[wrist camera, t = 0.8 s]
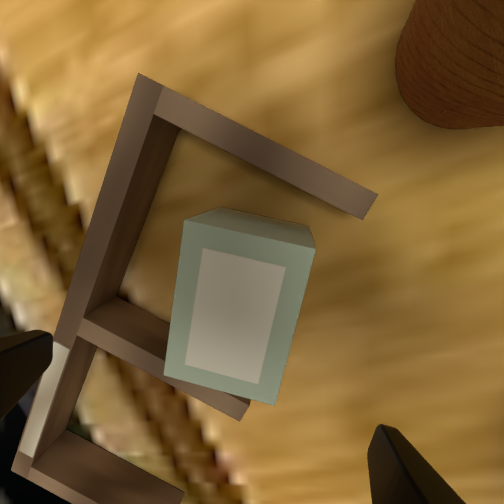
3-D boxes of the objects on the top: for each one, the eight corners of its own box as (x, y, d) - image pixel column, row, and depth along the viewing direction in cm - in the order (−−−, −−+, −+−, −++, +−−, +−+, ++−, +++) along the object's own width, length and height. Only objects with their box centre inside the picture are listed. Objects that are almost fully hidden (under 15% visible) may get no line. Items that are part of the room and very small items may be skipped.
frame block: (309, 225, 16) (316, 249, 10) (281, 337, 18) (274, 407, 12) (220, 206, 16) (182, 220, 11) (202, 318, 18) (162, 376, 13)
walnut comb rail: (362, 191, 15) (378, 194, 12) (178, 502, 22) (159, 553, 19) (168, 93, 15) (137, 72, 12) (47, 432, 22) (9, 471, 19)
